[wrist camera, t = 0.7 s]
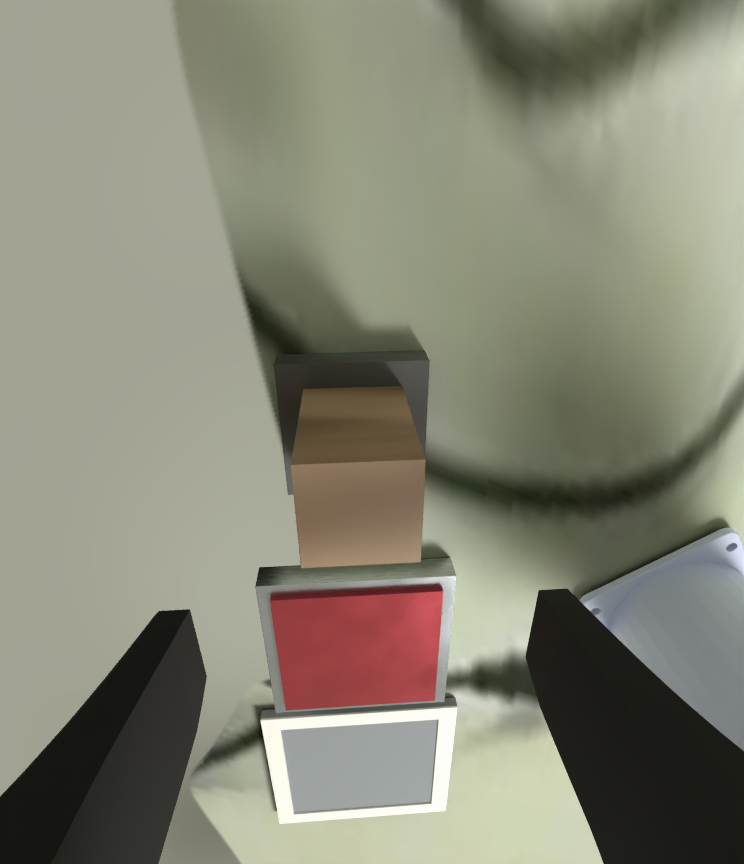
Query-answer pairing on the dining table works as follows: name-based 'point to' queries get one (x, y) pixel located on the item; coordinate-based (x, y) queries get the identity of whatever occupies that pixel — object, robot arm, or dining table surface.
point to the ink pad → (357, 633)
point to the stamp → (355, 454)
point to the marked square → (360, 760)
